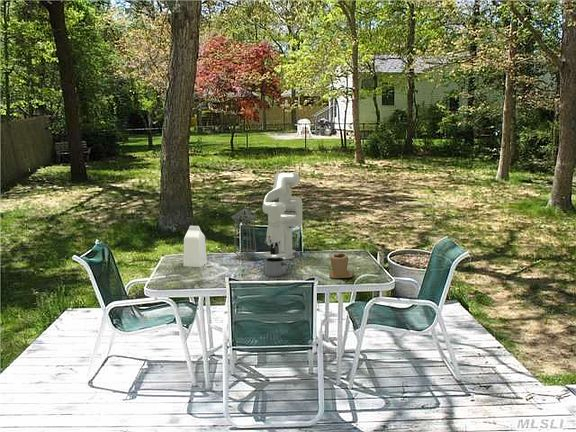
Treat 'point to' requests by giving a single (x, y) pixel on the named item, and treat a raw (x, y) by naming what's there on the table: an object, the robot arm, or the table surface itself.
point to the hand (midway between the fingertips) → (274, 253)
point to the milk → (194, 248)
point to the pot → (274, 266)
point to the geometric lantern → (242, 232)
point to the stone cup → (340, 266)
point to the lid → (276, 255)
